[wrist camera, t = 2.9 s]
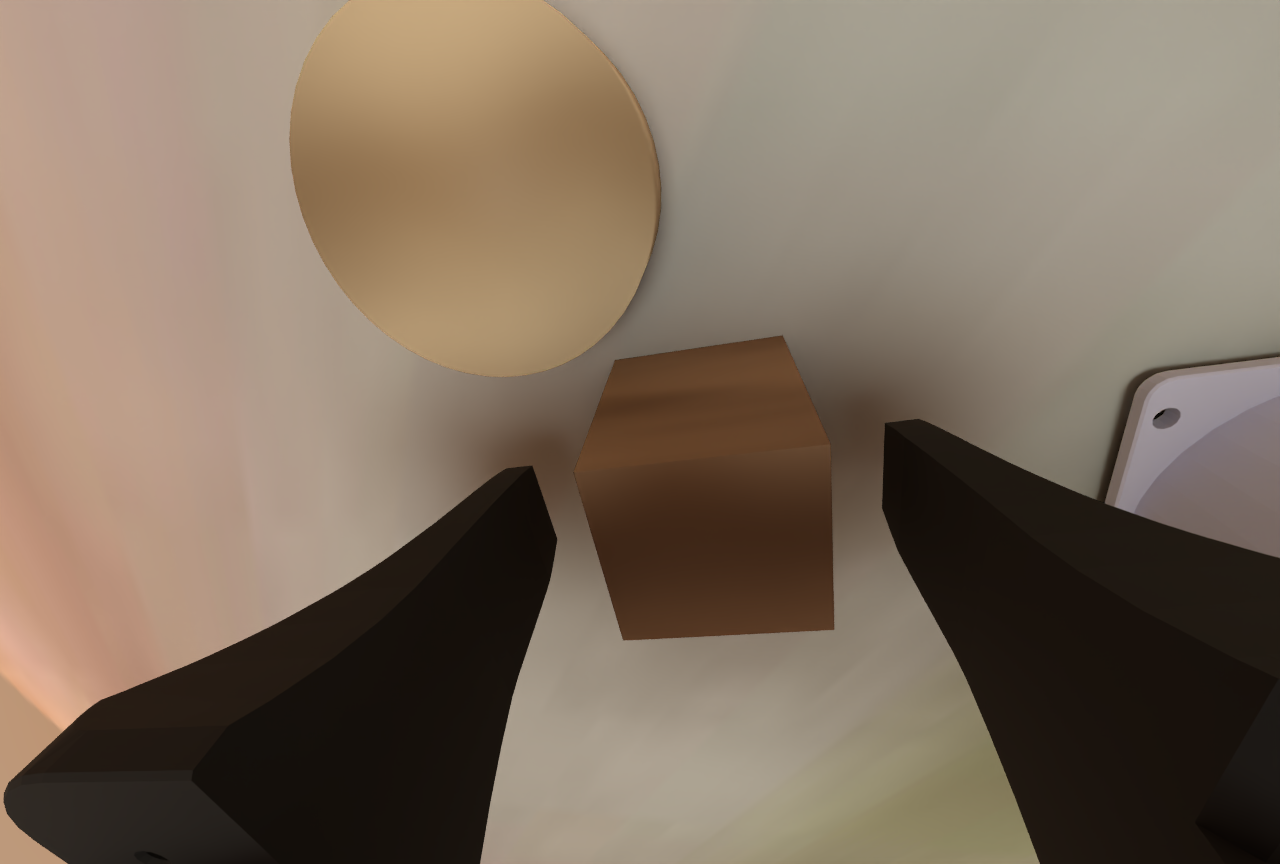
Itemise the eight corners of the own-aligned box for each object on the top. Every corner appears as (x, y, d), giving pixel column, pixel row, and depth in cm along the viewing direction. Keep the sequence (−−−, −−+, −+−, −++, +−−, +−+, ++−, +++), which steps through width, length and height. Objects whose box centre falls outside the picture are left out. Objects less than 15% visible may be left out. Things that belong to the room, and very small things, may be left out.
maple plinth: (683, 322, 12) (681, 351, 10) (425, 363, 13) (384, 396, 11) (626, -46, 9) (609, -91, 7) (297, 49, 10) (215, 30, 8)
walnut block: (791, 477, 14) (834, 629, 10) (644, 492, 15) (623, 640, 10) (782, 335, 12) (830, 444, 8) (615, 359, 13) (573, 472, 8)
